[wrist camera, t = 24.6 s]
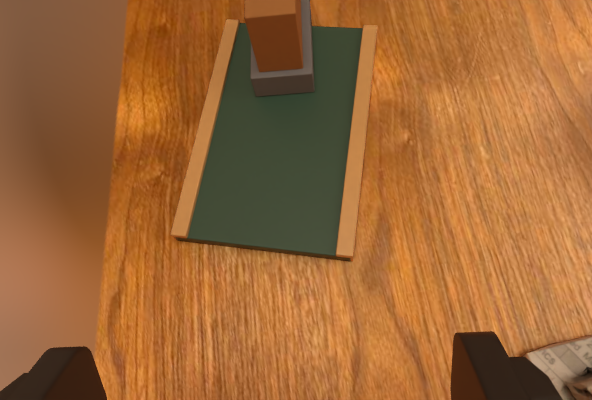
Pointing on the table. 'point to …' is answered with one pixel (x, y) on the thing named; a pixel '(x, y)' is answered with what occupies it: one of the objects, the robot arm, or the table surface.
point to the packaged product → (567, 367)
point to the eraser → (280, 46)
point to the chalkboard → (281, 152)
